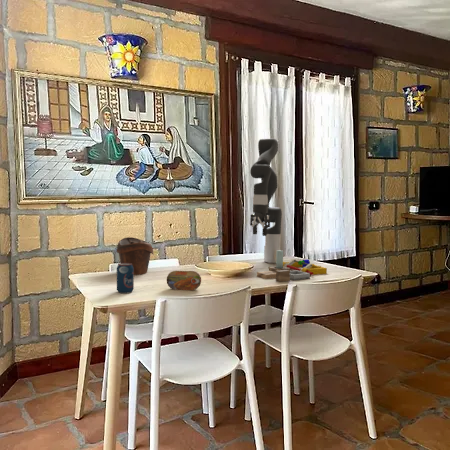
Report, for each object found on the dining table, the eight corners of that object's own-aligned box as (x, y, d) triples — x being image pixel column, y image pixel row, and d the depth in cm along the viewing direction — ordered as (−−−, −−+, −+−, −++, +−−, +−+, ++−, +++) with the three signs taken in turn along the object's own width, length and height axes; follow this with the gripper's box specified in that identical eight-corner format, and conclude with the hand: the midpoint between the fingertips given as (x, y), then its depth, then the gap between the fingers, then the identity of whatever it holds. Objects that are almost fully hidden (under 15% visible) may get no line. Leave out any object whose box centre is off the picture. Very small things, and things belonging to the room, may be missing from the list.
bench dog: (275, 280, 219) (276, 270, 218) (285, 279, 222) (285, 269, 222) (279, 282, 216) (279, 271, 216) (289, 280, 219) (289, 270, 219)
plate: (256, 277, 231) (256, 272, 231) (269, 275, 235) (269, 270, 235) (266, 279, 224) (266, 274, 224) (279, 278, 228) (279, 273, 228)
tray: (281, 276, 230) (281, 271, 230) (296, 275, 235) (296, 270, 235) (293, 280, 221) (293, 275, 221) (309, 278, 226) (309, 273, 226)
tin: (166, 289, 198) (166, 270, 197) (168, 288, 201) (168, 269, 200) (200, 291, 195) (200, 271, 195) (201, 289, 198) (201, 270, 198)
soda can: (127, 294, 187) (127, 265, 186) (113, 292, 190) (113, 264, 189) (136, 291, 194) (136, 263, 193) (123, 289, 196) (122, 262, 195)
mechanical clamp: (309, 265, 231) (279, 257, 258) (308, 277, 231) (279, 268, 259) (338, 263, 238) (307, 255, 265) (338, 275, 238) (306, 266, 266)
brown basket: (143, 276, 225) (144, 240, 224) (108, 274, 231) (108, 239, 230) (160, 271, 241) (160, 237, 240) (127, 269, 248) (127, 236, 247)
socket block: (268, 272, 241) (268, 267, 240) (280, 271, 245) (280, 266, 244) (277, 275, 234) (278, 269, 234) (290, 273, 238) (290, 268, 238)
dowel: (274, 273, 240) (275, 250, 239) (280, 272, 242) (280, 250, 241) (278, 274, 237) (279, 251, 236) (284, 273, 239) (284, 250, 238)
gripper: (246, 203, 238) (245, 234, 240) (262, 204, 226) (261, 236, 227) (258, 203, 242) (257, 233, 243) (274, 204, 230) (273, 236, 231)
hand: (259, 235), depth 235 cm, fingers open, 8 cm apart
